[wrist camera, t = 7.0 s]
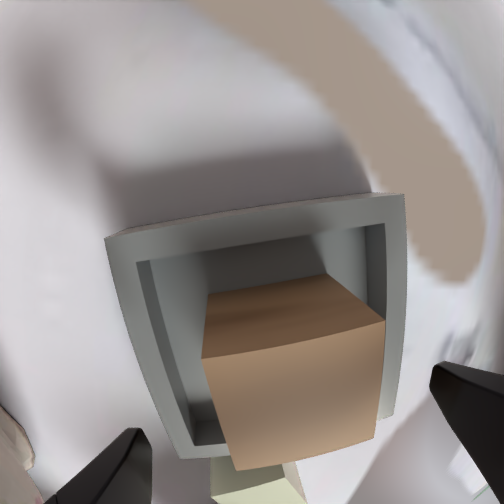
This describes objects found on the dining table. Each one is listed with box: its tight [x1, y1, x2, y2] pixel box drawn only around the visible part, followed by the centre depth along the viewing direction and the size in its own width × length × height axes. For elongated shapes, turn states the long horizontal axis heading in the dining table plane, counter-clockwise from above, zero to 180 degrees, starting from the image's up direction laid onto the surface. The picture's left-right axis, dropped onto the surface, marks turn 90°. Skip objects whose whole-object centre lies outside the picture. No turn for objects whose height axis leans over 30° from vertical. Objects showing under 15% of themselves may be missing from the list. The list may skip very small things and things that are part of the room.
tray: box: [104, 193, 407, 459], centre depth 12 cm, size 11×11×3 cm
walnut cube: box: [201, 273, 385, 471], centre depth 10 cm, size 5×5×5 cm
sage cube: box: [210, 455, 307, 504], centre depth 13 cm, size 4×4×4 cm
